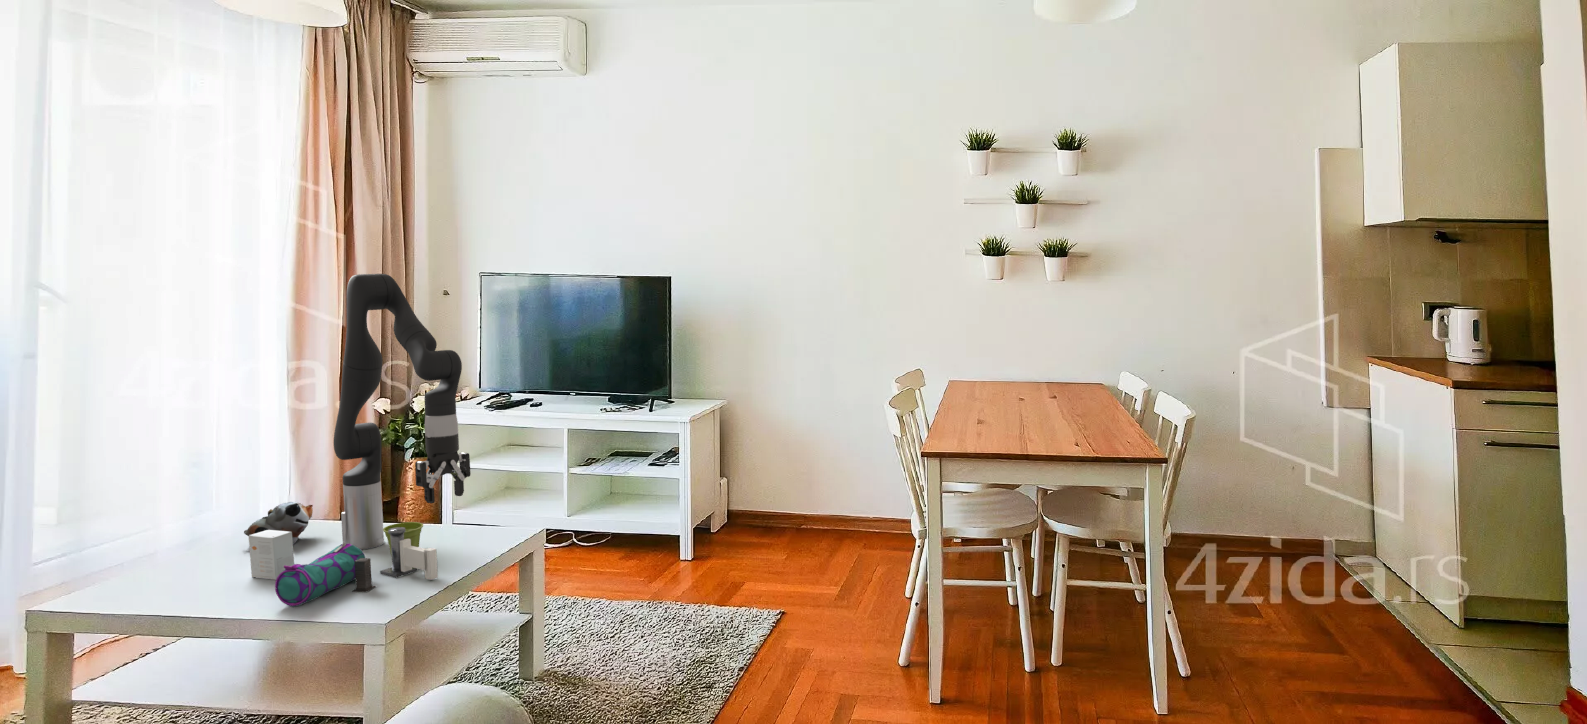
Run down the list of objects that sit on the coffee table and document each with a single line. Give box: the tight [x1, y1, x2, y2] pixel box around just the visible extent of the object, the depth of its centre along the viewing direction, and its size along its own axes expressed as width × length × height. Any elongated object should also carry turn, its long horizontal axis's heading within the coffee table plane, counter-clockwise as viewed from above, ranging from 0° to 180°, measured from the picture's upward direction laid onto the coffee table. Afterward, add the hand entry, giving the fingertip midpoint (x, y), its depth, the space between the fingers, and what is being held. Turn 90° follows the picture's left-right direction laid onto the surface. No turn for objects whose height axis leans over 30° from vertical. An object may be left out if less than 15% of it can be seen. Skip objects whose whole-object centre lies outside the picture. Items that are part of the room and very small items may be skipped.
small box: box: [248, 530, 295, 581], centre depth 219 cm, size 8×6×10 cm
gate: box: [400, 539, 439, 581], centre depth 216 cm, size 11×2×8 cm, turn 59°
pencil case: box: [274, 542, 366, 608], centre depth 206 cm, size 21×9×10 cm, turn 172°
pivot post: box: [379, 527, 419, 579], centre depth 220 cm, size 6×6×11 cm
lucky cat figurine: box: [243, 501, 314, 545], centre depth 248 cm, size 15×12×14 cm
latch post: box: [351, 557, 377, 593], centre depth 208 cm, size 4×4×7 cm
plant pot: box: [383, 521, 424, 553], centre depth 230 cm, size 9×9×9 cm
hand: (444, 499), depth 219 cm, fingers open, 7 cm apart
